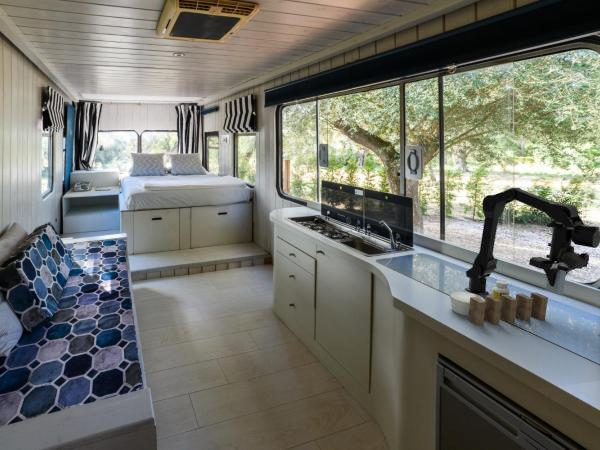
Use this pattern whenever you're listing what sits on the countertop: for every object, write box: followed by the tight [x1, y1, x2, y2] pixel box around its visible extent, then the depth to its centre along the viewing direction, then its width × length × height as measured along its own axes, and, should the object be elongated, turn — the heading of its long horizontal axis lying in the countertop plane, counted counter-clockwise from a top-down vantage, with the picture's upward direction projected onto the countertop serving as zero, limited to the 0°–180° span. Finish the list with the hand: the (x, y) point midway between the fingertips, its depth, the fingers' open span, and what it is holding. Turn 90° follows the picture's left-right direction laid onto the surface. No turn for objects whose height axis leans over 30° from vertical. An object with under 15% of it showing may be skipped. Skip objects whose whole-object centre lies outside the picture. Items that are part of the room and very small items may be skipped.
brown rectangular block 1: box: [515, 293, 533, 322], centre depth 140 cm, size 5×2×8 cm, turn 13°
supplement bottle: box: [491, 279, 510, 300], centre depth 149 cm, size 5×5×10 cm
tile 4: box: [484, 295, 502, 325], centre depth 138 cm, size 5×2×8 cm, turn 13°
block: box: [545, 270, 567, 295], centre depth 141 cm, size 5×2×8 cm, turn 13°
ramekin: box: [449, 291, 485, 317], centre depth 146 cm, size 11×11×5 cm
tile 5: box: [467, 297, 486, 327], centre depth 136 cm, size 5×2×8 cm, turn 13°
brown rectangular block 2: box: [530, 292, 549, 321], centre depth 142 cm, size 5×2×8 cm, turn 13°
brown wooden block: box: [500, 294, 517, 324], centre depth 139 cm, size 5×2×8 cm, turn 13°
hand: (554, 286), depth 142 cm, fingers closed on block, 2 cm apart
